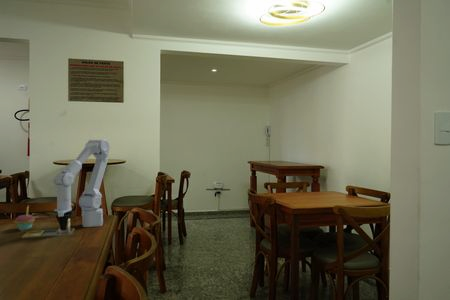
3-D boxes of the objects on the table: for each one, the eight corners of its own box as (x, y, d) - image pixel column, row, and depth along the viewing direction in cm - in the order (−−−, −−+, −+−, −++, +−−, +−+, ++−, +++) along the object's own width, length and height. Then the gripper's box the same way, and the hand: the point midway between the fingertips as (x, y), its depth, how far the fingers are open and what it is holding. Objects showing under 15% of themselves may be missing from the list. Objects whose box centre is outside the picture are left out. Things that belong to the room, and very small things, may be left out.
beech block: (70, 231, 150) (70, 218, 150) (68, 233, 146) (68, 220, 146) (60, 231, 149) (60, 218, 149) (58, 234, 145) (58, 221, 145)
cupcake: (39, 227, 160) (38, 203, 160) (27, 231, 152) (26, 206, 151) (22, 226, 161) (21, 203, 160) (10, 231, 152) (9, 206, 152)
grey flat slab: (75, 231, 153) (75, 228, 153) (71, 236, 144) (71, 233, 144) (27, 234, 147) (27, 231, 147) (20, 240, 138) (20, 237, 138)
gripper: (58, 197, 153) (58, 225, 153) (50, 202, 139) (50, 233, 139) (74, 196, 155) (74, 224, 155) (68, 201, 141) (68, 232, 141)
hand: (64, 228), depth 147 cm, fingers closed on beech block, 4 cm apart
